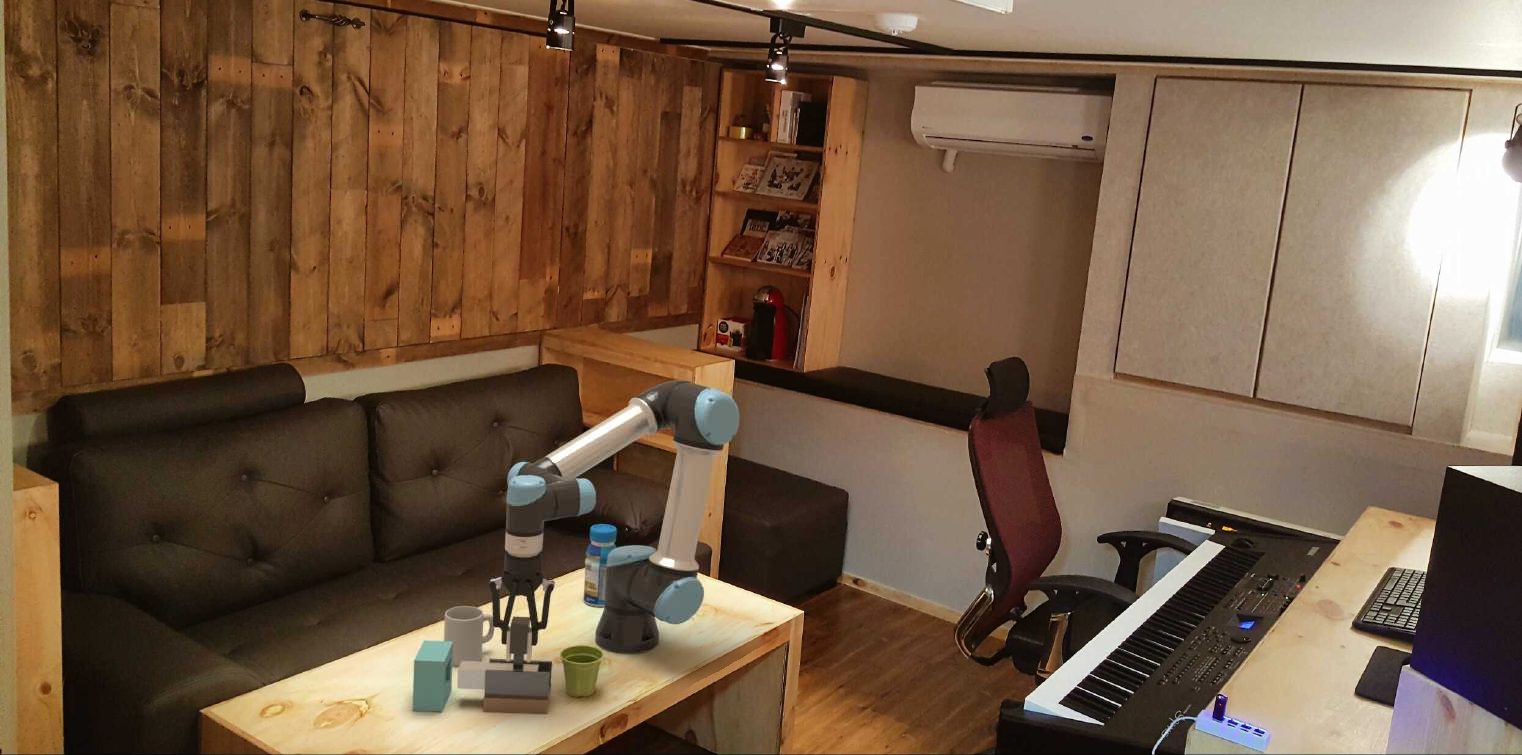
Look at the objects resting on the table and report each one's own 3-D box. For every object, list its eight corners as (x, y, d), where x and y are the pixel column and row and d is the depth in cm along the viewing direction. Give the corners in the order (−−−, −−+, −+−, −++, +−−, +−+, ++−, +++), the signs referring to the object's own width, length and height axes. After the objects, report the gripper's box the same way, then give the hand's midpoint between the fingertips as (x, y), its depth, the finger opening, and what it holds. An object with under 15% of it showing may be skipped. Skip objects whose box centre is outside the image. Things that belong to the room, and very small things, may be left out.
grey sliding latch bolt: (538, 682, 253) (541, 617, 250) (535, 691, 249) (539, 625, 246) (460, 679, 252) (463, 613, 249) (457, 688, 248) (459, 621, 245)
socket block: (451, 690, 255) (453, 641, 253) (442, 711, 245) (444, 661, 243) (422, 688, 254) (424, 640, 252) (412, 710, 245) (414, 660, 243)
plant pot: (582, 705, 253) (584, 667, 251) (548, 692, 258) (550, 654, 256) (610, 690, 261) (613, 653, 259) (577, 678, 266) (579, 641, 264)
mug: (455, 670, 265) (457, 623, 263) (435, 656, 271) (437, 610, 268) (502, 657, 273) (504, 611, 271) (482, 644, 279) (484, 599, 277)
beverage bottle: (613, 609, 306) (617, 534, 302) (580, 606, 306) (584, 531, 302) (617, 597, 314) (622, 524, 311) (585, 594, 314) (589, 521, 311)
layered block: (550, 696, 256) (552, 659, 254) (546, 713, 248) (548, 675, 246) (488, 693, 255) (490, 656, 253) (483, 711, 247) (484, 672, 245)
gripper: (479, 555, 241) (475, 664, 245) (563, 559, 242) (557, 668, 247) (485, 543, 248) (481, 649, 252) (566, 547, 250) (560, 653, 254)
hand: (518, 658), depth 249 cm, fingers closed on grey sliding latch bolt, 3 cm apart
